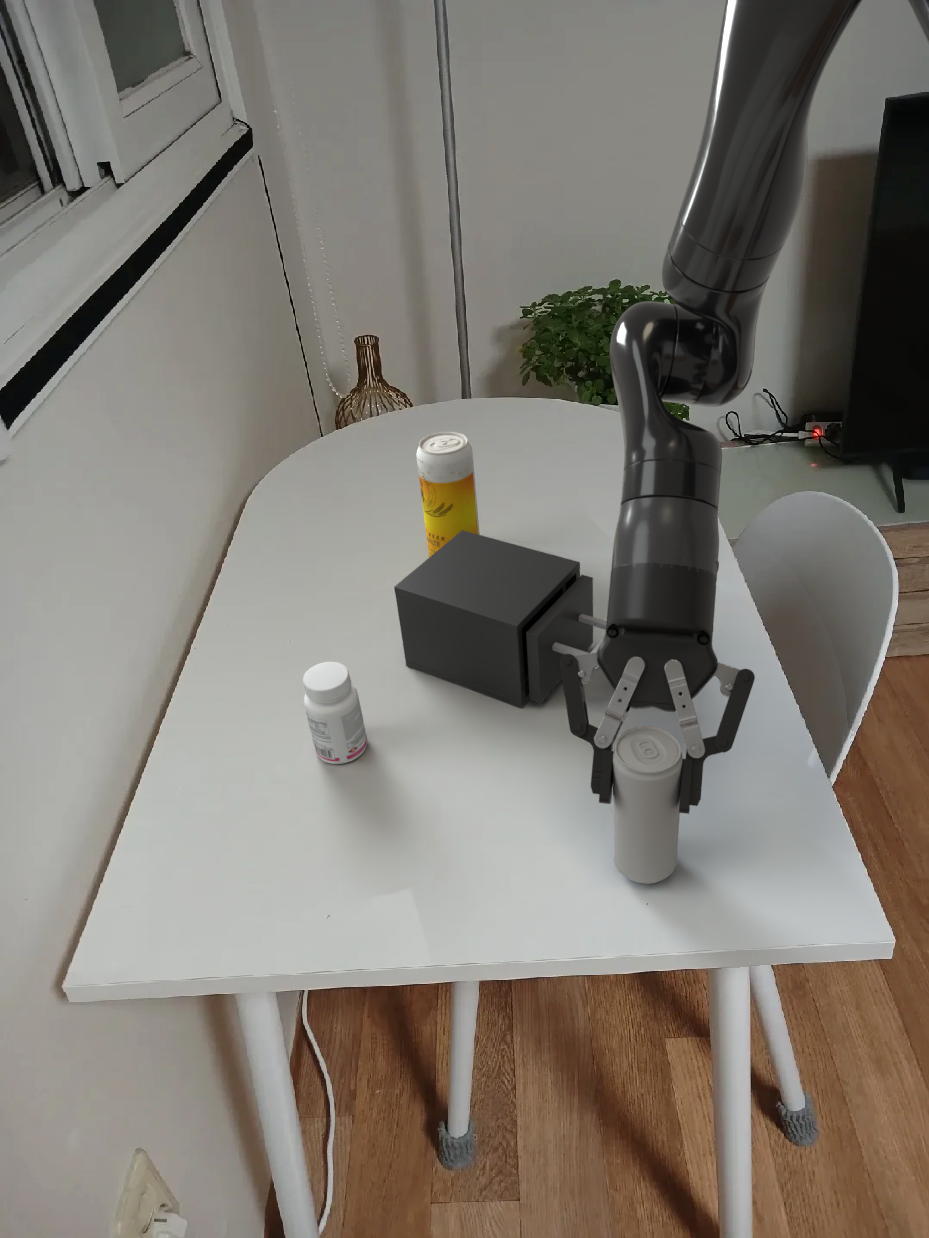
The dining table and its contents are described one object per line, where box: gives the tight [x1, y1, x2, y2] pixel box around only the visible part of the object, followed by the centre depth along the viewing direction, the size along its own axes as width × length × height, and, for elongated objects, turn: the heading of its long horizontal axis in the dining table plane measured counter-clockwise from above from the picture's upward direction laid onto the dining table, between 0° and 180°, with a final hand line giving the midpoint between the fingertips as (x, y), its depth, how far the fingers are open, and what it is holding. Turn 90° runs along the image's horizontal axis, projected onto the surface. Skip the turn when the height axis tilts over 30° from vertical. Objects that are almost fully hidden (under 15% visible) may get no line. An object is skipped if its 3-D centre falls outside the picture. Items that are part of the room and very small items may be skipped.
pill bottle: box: [302, 661, 368, 765], centre depth 84 cm, size 5×5×8 cm
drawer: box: [522, 574, 607, 704], centre depth 91 cm, size 17×10×8 cm, turn 56°
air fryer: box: [393, 530, 581, 709], centre depth 93 cm, size 14×12×10 cm
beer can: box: [415, 431, 481, 558], centre depth 107 cm, size 6×6×15 cm
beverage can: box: [612, 726, 684, 884], centre depth 69 cm, size 5×5×12 cm
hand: (644, 806), depth 67 cm, fingers closed on beverage can, 5 cm apart
